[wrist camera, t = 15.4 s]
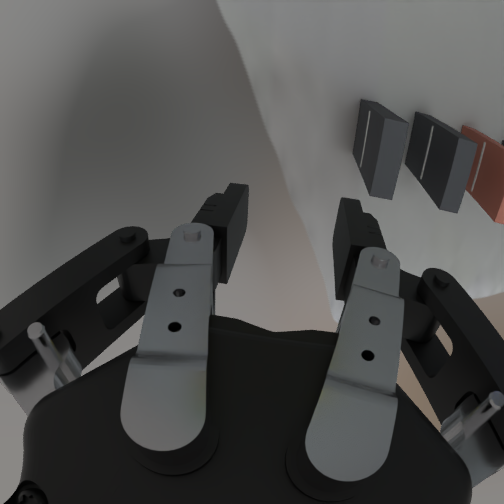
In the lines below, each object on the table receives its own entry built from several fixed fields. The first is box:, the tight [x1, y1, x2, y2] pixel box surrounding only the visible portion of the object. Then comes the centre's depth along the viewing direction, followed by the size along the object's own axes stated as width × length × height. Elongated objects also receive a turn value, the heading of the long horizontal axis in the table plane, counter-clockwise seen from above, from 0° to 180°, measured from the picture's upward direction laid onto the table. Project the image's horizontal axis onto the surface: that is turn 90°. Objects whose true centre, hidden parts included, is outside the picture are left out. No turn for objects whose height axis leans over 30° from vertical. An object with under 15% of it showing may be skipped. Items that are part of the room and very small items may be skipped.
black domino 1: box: [353, 99, 409, 200], centre depth 25 cm, size 2×6×11 cm, turn 177°
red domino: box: [461, 125, 504, 224], centre depth 23 cm, size 2×6×11 cm, turn 178°
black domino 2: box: [405, 112, 478, 213], centre depth 24 cm, size 2×6×11 cm, turn 177°
